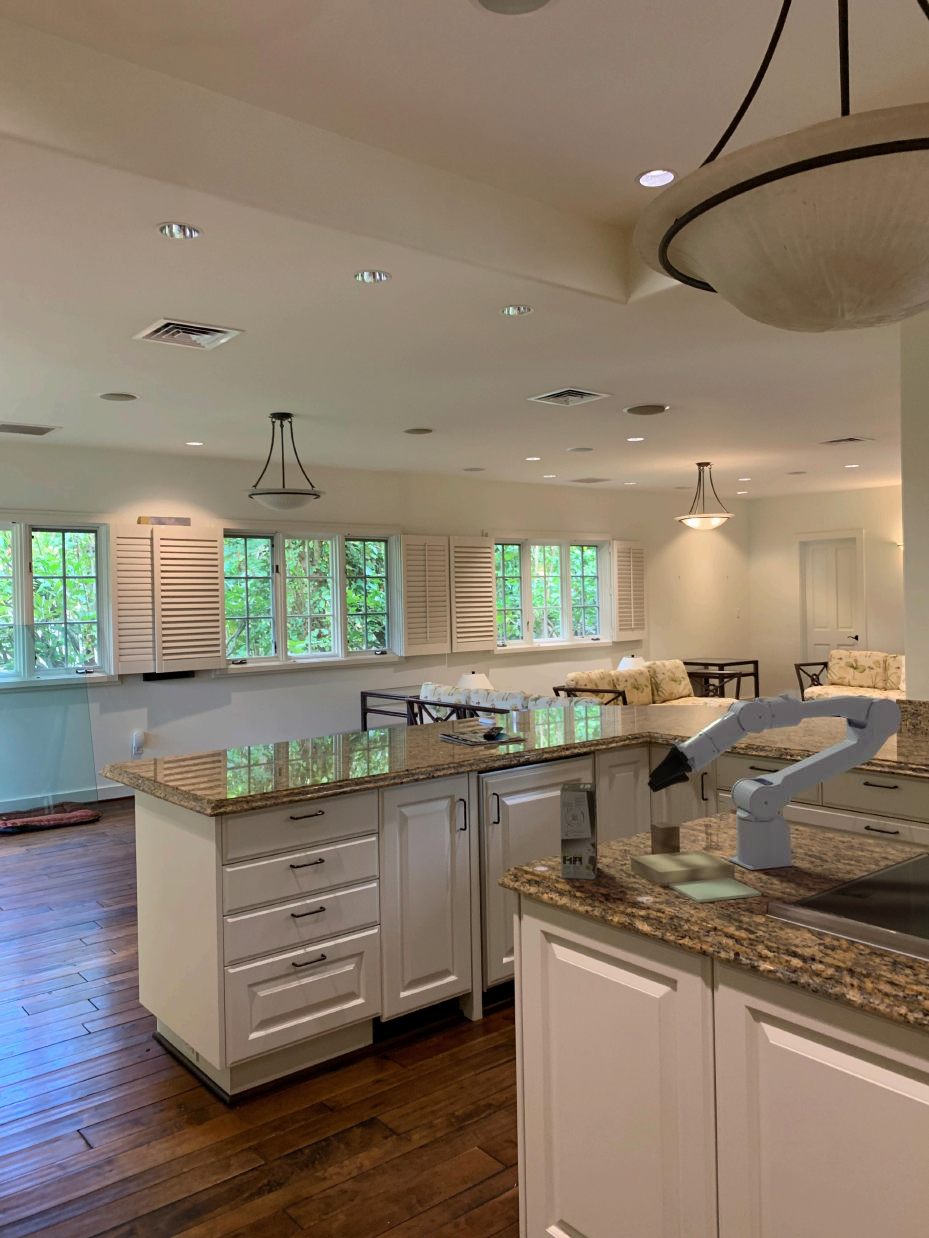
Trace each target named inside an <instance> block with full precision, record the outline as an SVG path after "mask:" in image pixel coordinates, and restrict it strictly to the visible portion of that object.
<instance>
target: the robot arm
mask: <svg viewBox="0 0 929 1238" xmlns="http://www.w3.org/2000/svg"><path fill="white" fill-rule="evenodd" d="M836 716H837V717H838V716H840V717H841V718H844V719H845V729H846V737H845V740H843V741H840V742H839V743H836V744H835V745H833V746H830V747H828V748H826V749H823V750H821V751H819V752H817V753H815V754H813V755H811V756H809V757H806V758H805V759H802V760H800V761H797V762H795V763H794V764H791V765H789V766H787V767H785V768H783V769H781V770H779V771H776V772H774V773H767V774H760V775H757V776H756V777H752V778H751V777H744V778H740V779H739V780H737V781H735V783H734V784H733V785H732V787H731V791H730V797H731V801H732V803H733V804H734V805H735V807H736V813H735V814H736V815H735V816H736V856H729V857H727V860H728V862H731V863H733V864H737V865H738V866H740V867H743V868H746V869H748V870H750V871H753V870H754V871H755V870H756V871H757V870H764V869H765V870H766V869H775V868H782V867H784V868H785V867H792V866H794V865H795V864H794V862H792V847H791V846H792V845H791V844H792V842H791V840H792V839H791V838H792V837H791V836H792V835H791V829H790V826H789V822H788V821H787V819H786V818H784V817H783V816H781V815H778V814H779V812H780V811H782V809H783V808H785V807H786V806H789V805H790V804H791V801H792V797H794V796H797V795H798V794H800V793H802V792H805V791H807V790H809V789H811V788H813V787H815V786H818V785H820V784H822V783H824V782H827V781H828V780H830V779H832V778H835V777H836V776H839V775H841V774H843V773H845V772H847V771H850V770H852V769H854V768H856V767H858V766H860V765H863V764H865V763H867V762H868V761H870V760H872V759H874V757H875V756H876V755H877V754H878V752H879V751H880V750H881V748H882V747H883V746H884V745H885V743H886V742H887V741H888V740H889V738H890V737H892V736H894V735H895V734H897V733H898V732H899V728H900V724H901V721H902V720H901V719H902V711H901V708H900V706H899V704H897V702H895V701H894V700H893V699H890V698H877V697H870V696H867V695H848V694H847V695H837V696H830V697H824V698H819V699H812V700H803V701H800V700H798V699H797V698H796V697H795V696H792V695H791V696H789V694H788V693H787V694H786V693H781V694H780V693H779V694H778V697H773V698H766V699H763V697H755V699H754V701H749V700H748V701H747V700H737V701H736V702H734V701H733V702H731V703H730V705H728V707H727V709H726V713H724V714H723V715H721V716H720V717H717V718H716V719H715V720H714V721H712V722H711V723H710V724H708V725H706V726H705V727H704V728H702V729H700V730H699V731H698V732H697V733H695V734H694V735H692V736H691V737H689V738H688V739H686V740H685V741H684V742H681V741H680V740H679V739H676V740H674V743H673V745H672V746H671V747H670V749H669V752H668V753H667V755H666V756H665V757H664V758H663V760H662V761H661V762H659V764H658V765H657V766H656V767H655V768H654V769H653V770H652V772H651V773H650V774H648V777H649V778H650V780H649V781H648V782H647V786H648V787H649V788H650V790H651V791H652V792H653V793H657V792H659V791H662V790H664V789H666V788H669V787H670V786H674V785H677V784H682V783H687V782H689V781H690V778H689V776H688V775H687V774H688V773H692V772H694V773H699V772H700V771H701V770H702V768H704V767H705V766H706V765H708V764H709V763H710V762H712V761H714V760H715V759H716V758H718V757H719V756H721V755H722V754H723V753H725V752H726V751H728V750H729V749H731V748H732V747H733V746H735V745H737V743H739V742H740V741H741V740H743V739H744V738H746V737H747V736H748V735H749V733H750V734H751V733H753V734H761V733H763V731H765V730H775V729H783V728H789V727H790V728H791V727H796V726H799V725H800V724H801V723H802V722H803V720H804V719H812V718H826V717H836Z"/></svg>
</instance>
